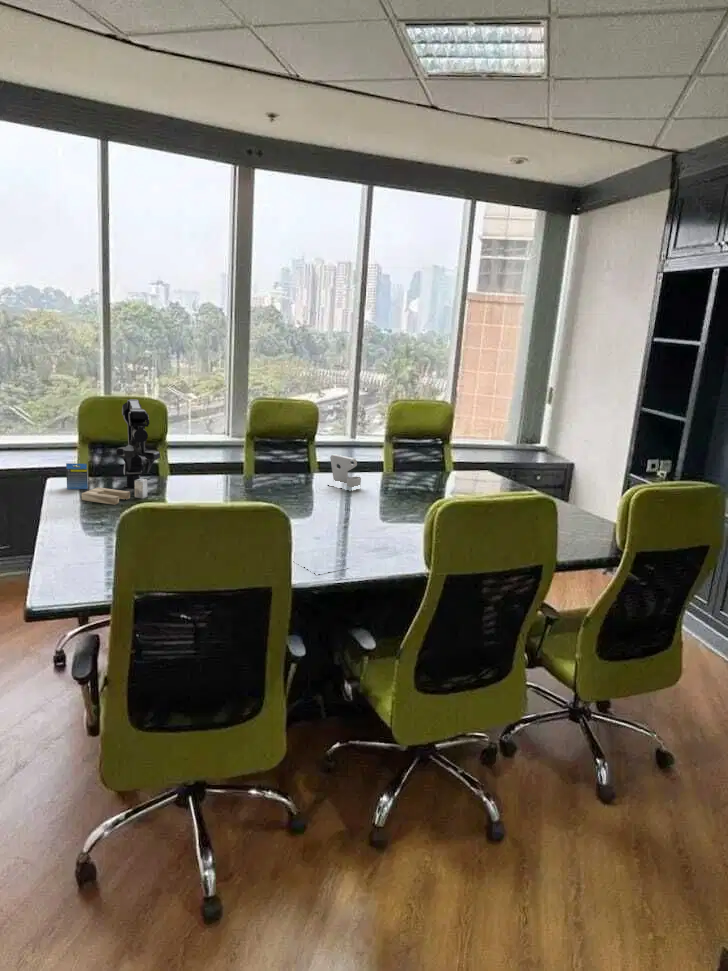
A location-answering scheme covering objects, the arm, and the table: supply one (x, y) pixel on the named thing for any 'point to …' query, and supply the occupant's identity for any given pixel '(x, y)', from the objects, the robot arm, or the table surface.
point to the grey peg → (140, 488)
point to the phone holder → (344, 470)
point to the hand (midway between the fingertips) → (138, 471)
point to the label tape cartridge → (77, 476)
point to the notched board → (105, 495)
